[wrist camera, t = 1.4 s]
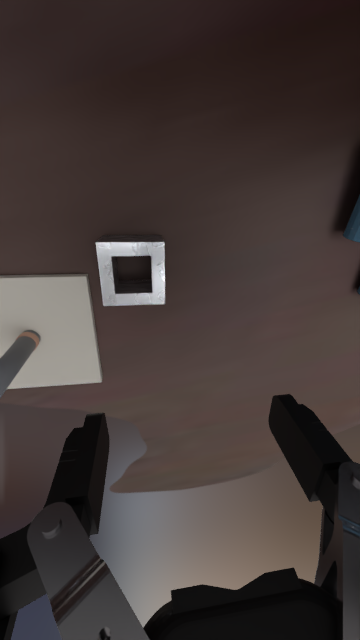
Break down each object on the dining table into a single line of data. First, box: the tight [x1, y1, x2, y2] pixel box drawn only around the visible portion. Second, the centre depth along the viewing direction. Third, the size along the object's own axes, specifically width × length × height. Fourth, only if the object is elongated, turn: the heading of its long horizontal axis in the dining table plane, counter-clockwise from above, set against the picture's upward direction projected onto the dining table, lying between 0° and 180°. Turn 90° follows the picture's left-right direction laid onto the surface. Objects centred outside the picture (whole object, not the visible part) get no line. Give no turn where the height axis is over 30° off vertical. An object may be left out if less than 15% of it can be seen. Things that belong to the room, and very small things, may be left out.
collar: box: [96, 235, 165, 306], centre depth 26 cm, size 6×6×4 cm
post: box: [0, 274, 103, 398], centre depth 25 cm, size 14×14×11 cm
